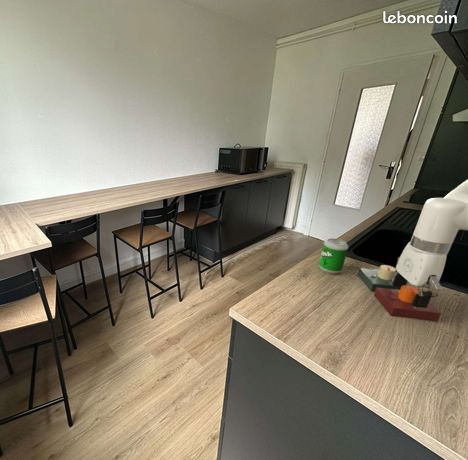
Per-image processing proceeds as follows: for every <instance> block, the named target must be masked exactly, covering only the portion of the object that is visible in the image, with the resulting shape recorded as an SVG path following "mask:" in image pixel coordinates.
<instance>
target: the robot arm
mask: <svg viewBox="0 0 468 460" xmlns="http://www.w3.org/2000/svg"><path fill="white" fill-rule="evenodd" d="M460 230H462V231H468V179H466V180H465V181H463V182H462V183H461V184H459V185H457V187H455V188H454V189H452V190H451V191H450V192H449V193H448V194H446V195H445V196H444V197H433V198H429V199H427V200H426V201H425V203H424V205H423V207H422V209H421V212H420V214H419V218H418V221H417V223H416V226H415V228H414V231H413V233H412V236H411V238H410V241H409V242H408V243H407V244H406V246H405V247H404V249H403V250H402V253H401V254H400V256H398V257H397V260H396V261H397V262H396V265H395V269H396V274H397V275H396V276H395V278H394V281H393V284H392V285H393V286H395V287H402V286H403V285H406V284H407V282H408V283H409V284H410V285H411V286H412V287H417V289H418V293H419V294H416V295H415V297H414V300H413V302H412V306H413V307H420V308H426V307H427V306H428V303H429V302H431V299H433V298H435V297H438V296H439V295H440V294H441V293H443V287H442V286H441V284H440V280H441V277H442V275H443V272H444V269H445V266H446V262H447V256H448V254H449V251H450V250H451V247H452V245H453V243H454V241H455V238H456V236H457V234H458V232H459V231H460ZM424 288H427V290H424Z"/></svg>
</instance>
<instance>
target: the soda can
mask: <svg viewBox="0 0 468 460" xmlns="http://www.w3.org/2000/svg"><path fill="white" fill-rule="evenodd" d="M348 250H349V244H347V242H346V241H345V240H343V239H340V238H332V237H331V238H328V239H326V240H325V241H324V242H323V246H322V249H321V253H320V258H319V262H318V267H319V268H320V270H321V271H322V272H324V273H327V274H330V275H337V274H339V273H341V272H342V271H343V267H344V265H345V261H346V257H347V255H348Z"/></svg>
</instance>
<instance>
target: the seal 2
mask: <svg viewBox="0 0 468 460" xmlns="http://www.w3.org/2000/svg"><path fill="white" fill-rule="evenodd" d="M416 294H419V293H418V288H416V287H415V286H413V285H411V286H407V285H403V286H402V287H401V289H400V292H399V294H398V298H399V299H400V300H402V301H404V302H407V303H412V302H413V300H414V297H415V295H416Z"/></svg>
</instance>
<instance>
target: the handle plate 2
mask: <svg viewBox="0 0 468 460" xmlns="http://www.w3.org/2000/svg"><path fill="white" fill-rule="evenodd" d="M399 292H400V290H396V289H386V288H376V290H375V292H374V293H373V296H374V297H375V299H376V300H377V301H378V302H379V303H380V304H381V306H382V307H383V308H384V309H385V311H386V312H387V313H388V314H389V315H390V316H391V317H396V318H403V319H412V320H421V321H429V322H435V323H436V322H437V323H438V321H439V320H440V317H441V315H442V312H441V311H440V310H439V309H437V307H435V306H434V305H433V304H432V303H431V301H429V303H428V306H427V307H426V308H420V307H413V306H412V303H407V302H404V301H402V300H400V299H399V298H398V294H399Z"/></svg>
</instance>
